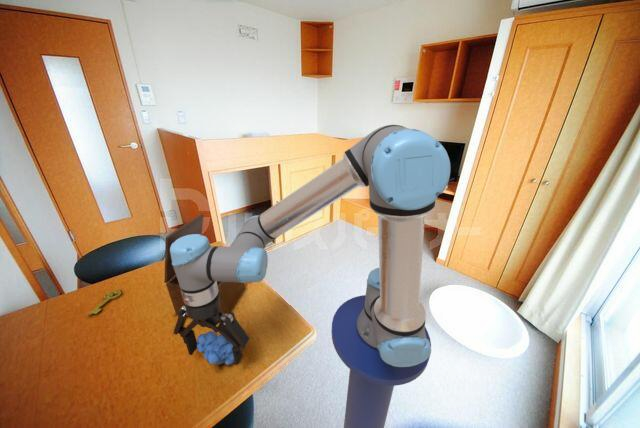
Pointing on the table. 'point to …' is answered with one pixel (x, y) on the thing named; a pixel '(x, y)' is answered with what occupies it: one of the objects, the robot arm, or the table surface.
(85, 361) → the table surface
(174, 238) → the lid
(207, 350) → the grapes
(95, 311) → the key
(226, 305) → the chest
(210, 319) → the robot arm
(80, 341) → the table surface
